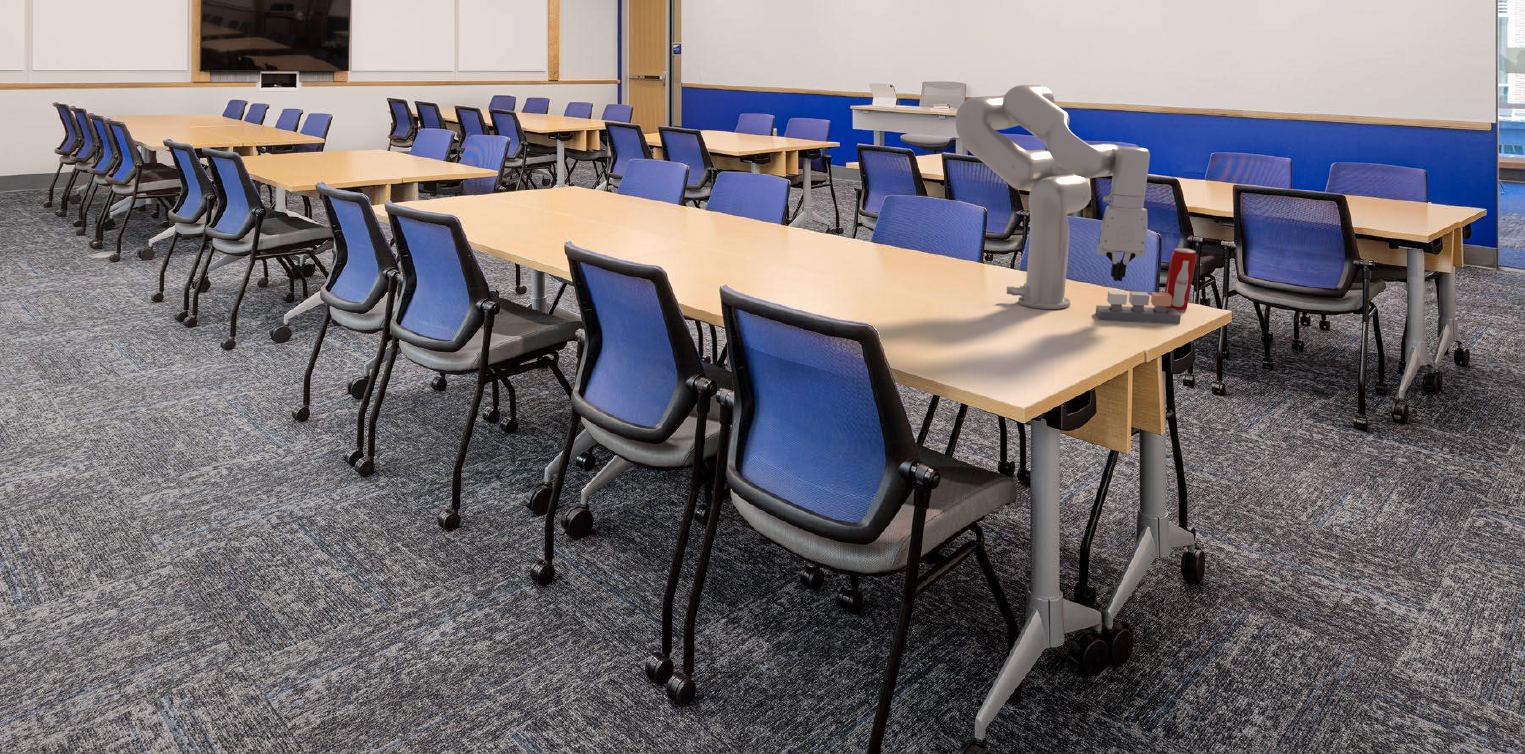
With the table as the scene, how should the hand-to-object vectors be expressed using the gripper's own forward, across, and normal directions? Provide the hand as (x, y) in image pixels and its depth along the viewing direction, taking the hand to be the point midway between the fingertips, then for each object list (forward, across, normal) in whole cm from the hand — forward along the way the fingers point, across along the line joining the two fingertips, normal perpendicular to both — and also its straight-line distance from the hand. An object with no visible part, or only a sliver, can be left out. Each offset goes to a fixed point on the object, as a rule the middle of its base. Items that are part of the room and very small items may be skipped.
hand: (1117, 279), depth 245 cm
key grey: (+8, +6, 0) cm, 10 cm away
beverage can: (+9, +16, +11) cm, 22 cm away
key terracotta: (+8, +10, 0) cm, 13 cm away
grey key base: (+9, +6, 0) cm, 11 cm away
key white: (+8, 0, 0) cm, 8 cm away
